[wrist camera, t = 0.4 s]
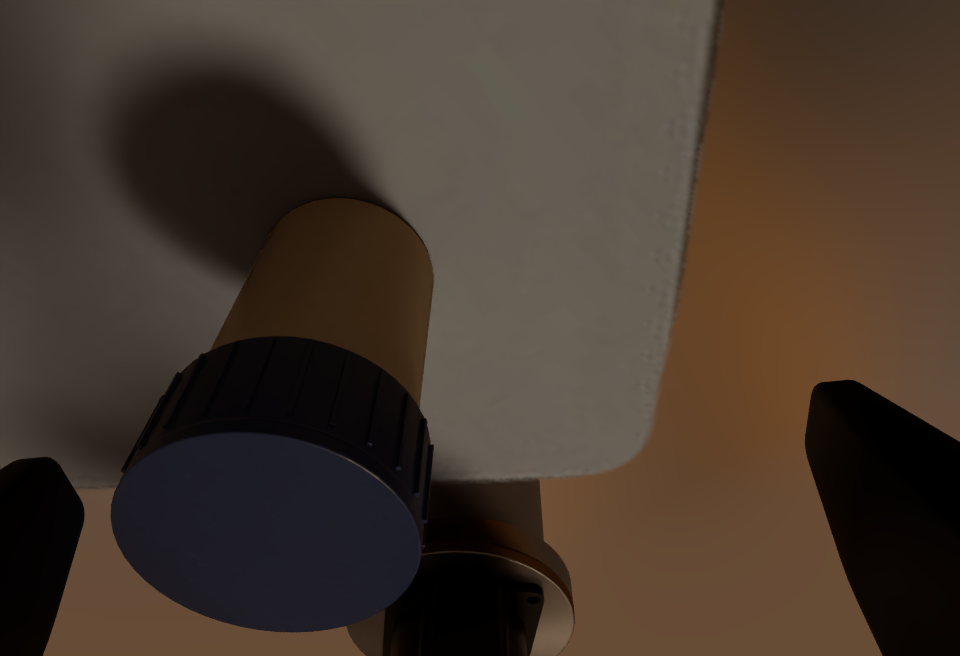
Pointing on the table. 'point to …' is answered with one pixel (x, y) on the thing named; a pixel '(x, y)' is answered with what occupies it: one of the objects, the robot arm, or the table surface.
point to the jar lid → (278, 487)
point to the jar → (342, 286)
